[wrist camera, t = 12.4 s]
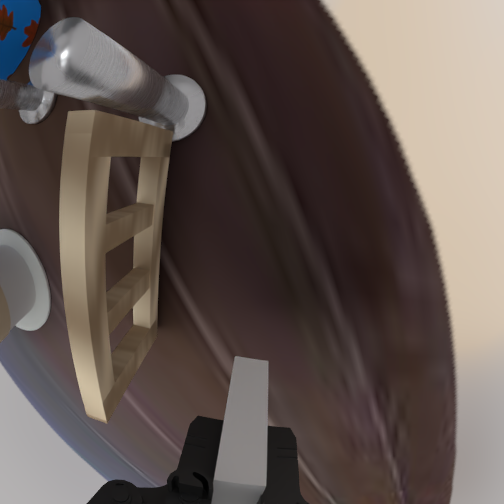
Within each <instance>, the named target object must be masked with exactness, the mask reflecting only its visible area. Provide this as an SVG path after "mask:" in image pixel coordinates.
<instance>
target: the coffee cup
mask: <svg viewBox="0 0 504 504" xmlns="http://www.w3.org/2000/svg"><path fill="white" fill-rule="evenodd" d="M35 299H36V290H35V284H34V280H33V277H32V274H31V272H30V269H29V267H28V265H27V264H26V262H25V260H24V259H23V258H22V256H21V255H20V254H19V253H18V252H17V251H16V250H15V249H14V248H12V247H10V246H8V245H0V342H1V341H2V340H3V339H4V338H5V337H6V336H7V335H8V334H9V331H10V330H11V329H12V328H13V327H14V326H15V325H16V324H17V323H18V322H19V321H20V320H21V319H22V318H23V317H24V316H25V315H26V314H27V313H29V312H30V311H31V310H32V308H33V307H34V304H35Z"/></svg>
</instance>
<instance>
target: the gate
mask: <svg viewBox="0 0 504 504" xmlns="http://www.w3.org/2000/svg"><path fill="white" fill-rule="evenodd" d="M172 137H173V131H170V130H166V129H163V128H160V127H156V126H153V125H150V124H146V123H143V122H139V121H136V120H132V119H128V118H125V117H121V116H117V115H113V114H109V113H105V112H101V111H97V110H83V111H68V117H67V123H66V130H65V138H64V146H63V156H62V167H61V182H60V209H59V234H60V261H61V276H62V287H63V297H64V306H65V314H66V321H67V328H68V334H69V340H70V345H71V351H72V356H73V361H74V366H75V370H76V375H77V379H78V383H79V387H80V391H81V395H82V399H83V403H84V406H85V410H86V413H87V416H88V417H91V418H94V419H96V420H99V421H102V422H104V423H108V421H109V420H110V418H111V416H112V414H113V412H114V410H115V409H116V407H117V405H118V403H119V402H120V400H121V398H122V396H123V394H124V393H125V391H126V389H127V387H128V386H129V384H130V382H131V380H132V378H133V377H134V375H135V373H136V372H137V370H138V368H139V366H140V365H141V363H142V361H143V359H144V358H145V356H146V354H147V353H148V351H149V349H150V347H151V346H152V344H153V342H154V341H155V339H156V337H157V317H158V283H159V263H160V247H161V234H162V221H163V210H164V200H165V191H166V182H167V174H168V166H169V158H170V151H171V144H172ZM111 157H141V163H140V171H139V181H138V191H137V203H135V204H132V205H130V206H127V207H124V208H121V209H118V210H116V211H113V212H110V213H107V214H106V212H107V195H108V182H109V171H110V161H111ZM133 236H134V257H133V270H131V271H130V272H129V273H128V274H127V275H126V276H124V277H123V278H122V279H121V280H120V281H119V282H118V283H116V284H115V285H114V286H113V287H112V288H111V289H110V290H109V291H107V292H106V267H105V253H107V252H108V251H110V250H112V249H113V248H115V247H117V246H118V245H120V244H121V243H123V242H125V241H126V240H128V239H130V238H131V237H133ZM132 308H133V324H134V325H133V326H132V327H131V329H130V330H129V331H128V333H127V334H126V335H125V336H124V338H123V339H122V340H121V342H120V343H119V345H118V346H117V347H116V349H115V350H114V351H113V353H112V354H111V350H110V340H109V335H110V334H111V332H112V331H113V330H114V329H115V328H116V326H117V325H118V324H119V323H120V322H121V320H122V319H123V318H124V317H125V316H126V315H127V313H128V312H129V311H130V310H131V309H132Z"/></svg>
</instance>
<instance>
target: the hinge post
mask: <svg viewBox="0 0 504 504" xmlns="http://www.w3.org/2000/svg"><path fill="white" fill-rule="evenodd" d="M29 77H30V80H31V83H32V84H33V85H34V86H35V87H36V88H37V89H39V90H42V91H47V92H51V93H56V94H60V95H64V96H68V97H72V98H76V99H80V100H84V101H87V102H91V103H95V104H98V105H102V106H105V107H109V108H112V109H116V110H119V111H122V112H126V113H129V114H132V115H135V116H138V117H139V121H140V122H143V123H146V124H150V125H153V126H156V127H160V128H163V129H166V130H170V131H173V137H172V142H173V141H179V140H182V139H185V138H187V137H188V136H190V135H191V134H193V133H194V132H195V131H196V130H197V129H198V128H199V127H200V125H201V124H202V122H203V120H204V118H205V115H206V110H207V101H206V97H205V94H204V92H203V90H202V89H201V87H200V86H199V85H198V84H197V83H196V82H195V81H194V80H192V79H191V78H189V77H186V76H183V75H167V76H164V77H163V76H161V75H160V74H159V73H158V72H156V71H155V70H154V69H152V68H151V67H150V66H148V65H147V64H146V63H144V62H143V61H142V60H140V59H139V58H138V57H136V56H135V55H134V54H132V53H131V52H129V51H128V50H127V49H125V48H124V47H122V46H121V45H120V44H118V43H117V42H115V41H114V40H113V39H111V38H110V37H108V36H107V35H105V34H104V33H102V32H101V31H99V30H98V29H96V28H95V27H93V26H92V25H90V24H89V23H87V22H86V21H84V20H83V19H81V18H77V17H71V18H66V19H63V20H61V21H59V22H58V23H56V24H55V25H53V26H52V27H51V28H49V29H48V30H47V31H46V32H45V33H44V35H43V36H42V37H41V38H40V40H39V41H38V43H37V45H36V46H35V48H34V50H33V53H32V56H31V59H30V63H29Z"/></svg>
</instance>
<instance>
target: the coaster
mask: <svg viewBox="0 0 504 504" xmlns="http://www.w3.org/2000/svg"><path fill="white" fill-rule="evenodd" d="M0 245H8V246H10V247H12V248H14V249H15V250H16V251H17V252H18V253H19V254H20V255H21V256H22V258H23V259H24V260H25V262H26V264H27V265H28V267H29V269H30V272H31V274H32V277H33V280H34V284H35V290H36V299H35V304H34V307H33V308H32V310H31V311H30V312H29V313H27V314H26V315H25V316H24V317H23V318H22V319H21V320H20V321H19V322H18V323H17V324H16V325H15V326H17V327H19V328H21V329H23V330H28V331H33V330H36V329H38V328H40V327H41V326H42V325H43V324H44V323H45V322H46V321H47V319H48V317H49V314H50V309H51V292H50V286H49V282H48V278H47V275H46V272H45V270H44V267H43V265H42V263H41V261H40V259H39V257H38V255H37V253H36V252H35V250H34V249H33V247H32V246H31V245H30V243H29V242H28V241H27V240H26V239H25V238H24V237H23V236H22V235H20V234H19V233H18V232H16V231H14V230H11V229H0Z"/></svg>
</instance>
